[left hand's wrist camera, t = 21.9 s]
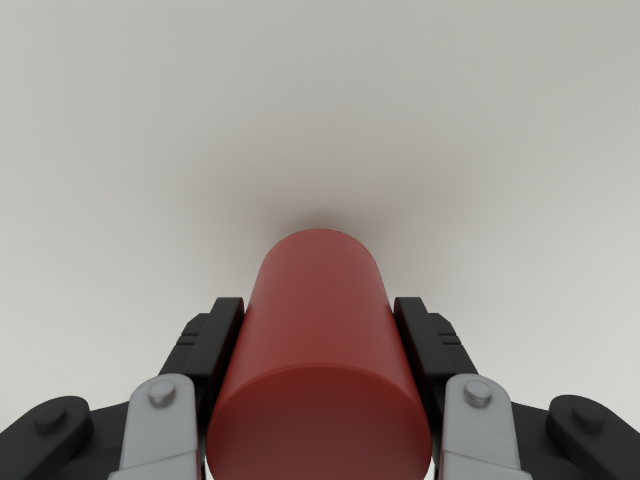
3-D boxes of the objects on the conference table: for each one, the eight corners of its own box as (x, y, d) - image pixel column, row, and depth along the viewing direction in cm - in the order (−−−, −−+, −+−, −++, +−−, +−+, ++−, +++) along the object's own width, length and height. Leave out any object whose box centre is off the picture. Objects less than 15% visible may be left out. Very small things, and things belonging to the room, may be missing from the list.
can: (334, 355, 16) (346, 558, 9) (235, 300, 15) (164, 479, 8) (404, 270, 15) (481, 434, 8) (301, 203, 14) (282, 321, 7)
